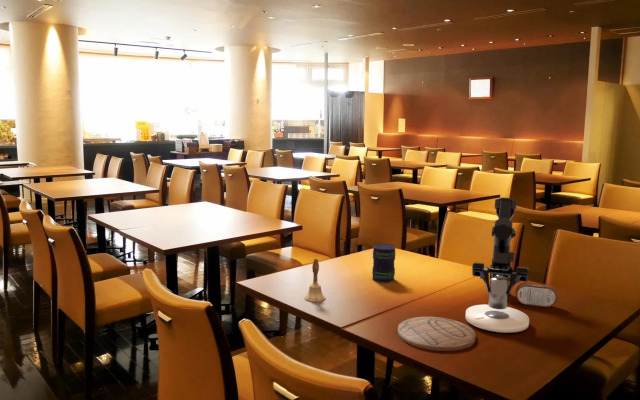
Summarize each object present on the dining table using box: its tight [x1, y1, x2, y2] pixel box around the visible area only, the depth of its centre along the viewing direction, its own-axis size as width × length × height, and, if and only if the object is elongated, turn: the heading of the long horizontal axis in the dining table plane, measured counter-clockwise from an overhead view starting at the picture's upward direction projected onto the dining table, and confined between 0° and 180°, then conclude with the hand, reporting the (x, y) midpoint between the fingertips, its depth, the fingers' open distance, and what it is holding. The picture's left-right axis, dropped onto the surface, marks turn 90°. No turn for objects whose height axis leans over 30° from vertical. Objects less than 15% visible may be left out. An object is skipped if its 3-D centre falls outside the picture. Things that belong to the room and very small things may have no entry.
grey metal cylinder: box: [487, 274, 510, 309], centre depth 183 cm, size 6×6×11 cm
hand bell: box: [304, 258, 326, 303], centre depth 207 cm, size 8×8×16 cm
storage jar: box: [371, 243, 396, 284], centre depth 233 cm, size 10×10×15 cm
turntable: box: [465, 304, 530, 333], centre depth 185 cm, size 21×21×2 cm
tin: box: [515, 282, 558, 308], centre depth 203 cm, size 15×3×8 cm, turn 71°
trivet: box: [397, 316, 476, 352], centre depth 174 cm, size 25×25×2 cm
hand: (498, 293), depth 182 cm, fingers closed on grey metal cylinder, 6 cm apart
